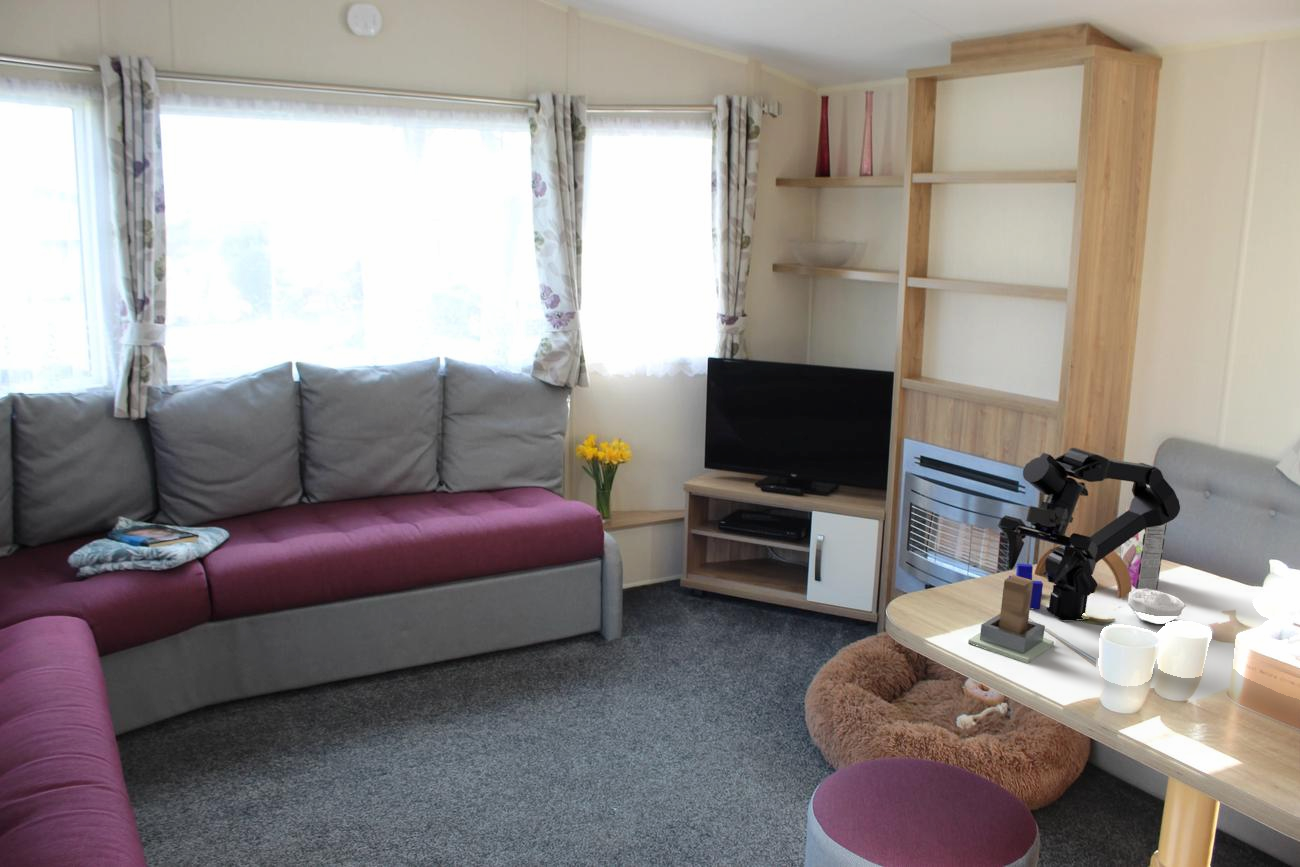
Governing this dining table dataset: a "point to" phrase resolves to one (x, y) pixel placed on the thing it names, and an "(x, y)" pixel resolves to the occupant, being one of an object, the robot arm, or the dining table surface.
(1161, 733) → the dining table surface
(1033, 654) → the base plate
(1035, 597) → the cable clip
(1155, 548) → the candy bar box
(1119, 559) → the arch
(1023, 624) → the walnut post
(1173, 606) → the cell model
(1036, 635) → the steel collar
